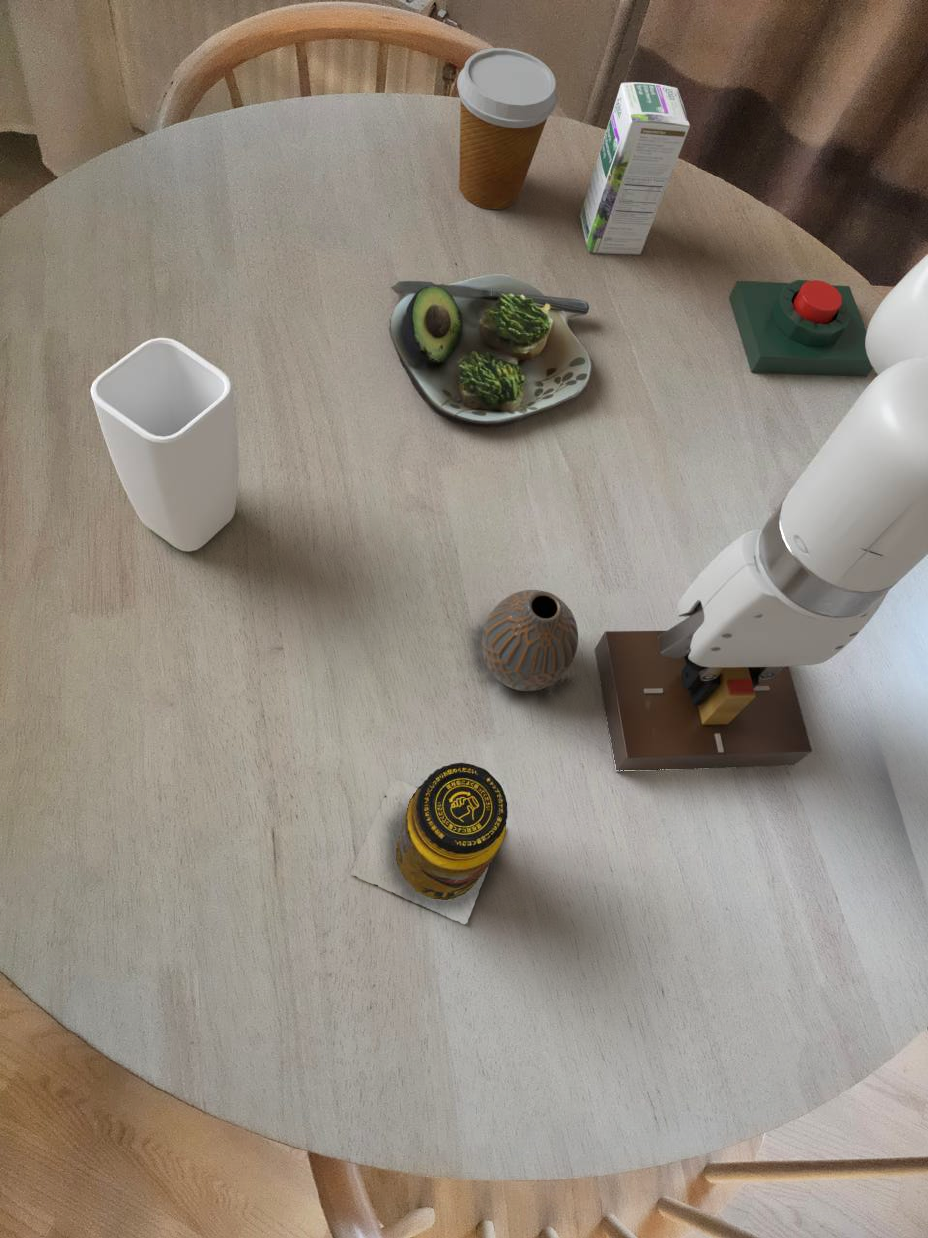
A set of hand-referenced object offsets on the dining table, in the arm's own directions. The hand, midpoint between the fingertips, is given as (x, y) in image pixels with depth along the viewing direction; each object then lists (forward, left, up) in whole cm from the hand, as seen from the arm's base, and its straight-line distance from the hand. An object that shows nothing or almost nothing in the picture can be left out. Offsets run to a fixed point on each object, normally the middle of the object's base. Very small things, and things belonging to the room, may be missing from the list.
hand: (710, 685), depth 69 cm
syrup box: (-2, -52, -4) cm, 52 cm away
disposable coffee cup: (+10, -58, -4) cm, 59 cm away
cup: (+38, -17, -4) cm, 42 cm away
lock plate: (0, 0, -4) cm, 4 cm away
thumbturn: (0, 0, -1) cm, 1 cm away
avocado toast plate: (+13, -35, -4) cm, 37 cm away
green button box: (-19, -39, -4) cm, 43 cm away
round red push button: (-19, -39, 0) cm, 43 cm away
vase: (+13, -4, -4) cm, 14 cm away
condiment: (+21, +10, -4) cm, 24 cm away
